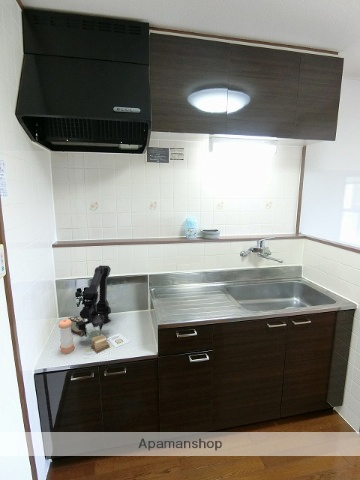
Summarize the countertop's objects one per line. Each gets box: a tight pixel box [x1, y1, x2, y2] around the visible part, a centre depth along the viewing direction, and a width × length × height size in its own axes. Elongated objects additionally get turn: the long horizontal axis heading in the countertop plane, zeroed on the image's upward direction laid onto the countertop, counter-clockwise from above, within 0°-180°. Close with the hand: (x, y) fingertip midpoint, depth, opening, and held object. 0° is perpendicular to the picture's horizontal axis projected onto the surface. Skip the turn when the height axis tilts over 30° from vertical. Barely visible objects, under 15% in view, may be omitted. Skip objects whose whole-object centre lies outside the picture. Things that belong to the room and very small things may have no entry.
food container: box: [67, 315, 86, 337], centre depth 161 cm, size 12×6×10 cm, turn 65°
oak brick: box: [91, 334, 108, 349], centre depth 146 cm, size 6×6×4 cm
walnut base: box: [90, 341, 111, 354], centre depth 147 cm, size 8×8×2 cm
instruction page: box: [106, 332, 130, 349], centre depth 154 cm, size 12×9×1 cm
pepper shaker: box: [57, 318, 75, 355], centre depth 142 cm, size 7×7×19 cm
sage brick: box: [87, 329, 100, 342], centre depth 155 cm, size 4×4×4 cm
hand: (93, 333), depth 155 cm, fingers open, 9 cm apart
